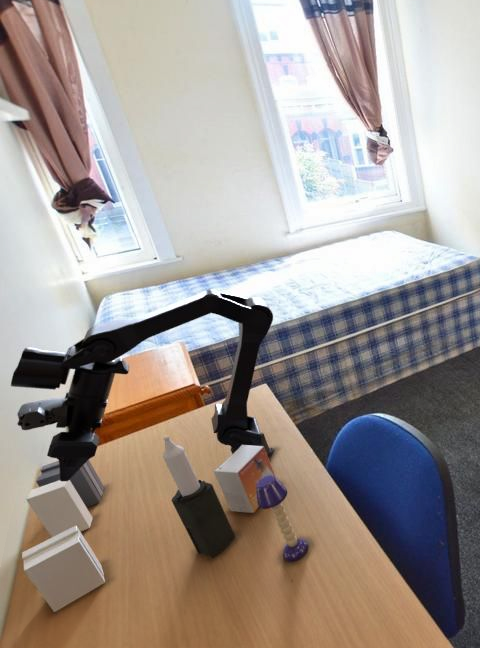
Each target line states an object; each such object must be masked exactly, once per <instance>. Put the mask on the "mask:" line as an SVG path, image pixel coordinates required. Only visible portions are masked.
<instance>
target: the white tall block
mask: <svg viewBox="0 0 480 648" xmlns="http://www.w3.org/2000/svg"><path fill="white" fill-rule="evenodd" d="M26 502H27V503H28V505H29V506H30V507H31V509H32V511H33V513H34V514H35V515H36V516H37V518H38V520H39V521H40V523H41V524H42V526H43V527H44V528H45V530H46V532H47V534H48V535H49V536H50V538H52V537H54V536H56V535H58V534H60V533H62V532H64V531H66V530H68V529H70V528H72V527H74V526H77V527H78V529H79V530H80V532H81V533H82V532H83V531H85V530H89V529H90V528H91V525H92V523H93V519H94V518H93V516H92V514H91V513H90V511H89V509H88V507H86V506H85V504H84V503H83V501H82V499H81V498H80V496H79V494H78V493H77V491H76V490H75V488H74V486H73V485H72V483H71V481H70V480H69V481H60V480H59V481H56V482H53V483H50V484H47V485H44V486H41V487H39V486H38V487H36V488H32V489H31V490H30V491H29V494H28V495H27V498H26Z"/></svg>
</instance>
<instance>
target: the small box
mask: <svg viewBox="0 0 480 648" xmlns="http://www.w3.org/2000/svg"><path fill="white" fill-rule="evenodd" d="M213 473H214V476H215V477H216V481H217V483H218V485H219V487H220V489H221V492H222V494H223V496H224V498H225V501H226V503H227V505H228V507H229V510H230V511H231V512H239V513H248V514H255V512H256V511H257V510H258V508H260V507H259V506H258V503H257V491H256V484H257V482H258V481H259V480H260V479H261V478H262V477H264V476H267V475H273V476H275V477H276V475H275V472H274V469H273V466H272V463H271V461H270V457H269V458H268V455H267V453H266V450H265V447H264V446H252V445H241V446H240V447H239V449H238V450H237V451H235V452H234V453H233V454H232V453H231V455H230V456H229V457H228V458H227V459H226V460H225V461H223V463H221V464H220V465H219V466H218V467H217V468H216V469H214V471H213Z"/></svg>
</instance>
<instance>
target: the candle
mask: <svg viewBox="0 0 480 648" xmlns="http://www.w3.org/2000/svg"><path fill="white" fill-rule="evenodd" d="M162 440H163V441H164V452H163V455H162V458H163V461H164V462H165V464H166V467H167V469H168V470H169V472H170V475H171V477H172V478H173V481H174V482H175V485H176V487H177V489H178V490H177V491H176V493H175V495H173V496H172V498H171V502H172V505H173V507H174V509H175V510H176V513H177V515H178V516H179V518H180V520H181V523H182V524H183V527H184V528H185V531H186V533H187V534H188V536H189V539H190V541H191V543H192V545H193V546H194V548H195V550H196V553H197V554H199V555H201V554H203V555H206V556H208V557H209V558H215V557H217V556H219V555H220V554H221V553H222V552H223V551H224V550H225V549H226V548H227V547H228V546H229V545H230V544H231V543H232V542H233V541H234V540H235V538H236V534H235V532H234V530H233V528H232V525H231V524H230V522H229V520H228V517H227V515H226V512H225V511H224V508H223V506H222V503H221V501H220V499H219V497H218V494H217V492H216V490H215V487H214V486H213V484H212V483H210V482H207V481H205V480H202V479H198V477H197V475H196V473H195V470H194V469H193V466H192V464H191V462H190V459H189V458H188V456H187V453H186V451H185V449H184V448H183V447H182V446H180V445H178V444H176V443H175V442H173V440H172V439H170V435H164V436H163V438H162Z"/></svg>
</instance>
